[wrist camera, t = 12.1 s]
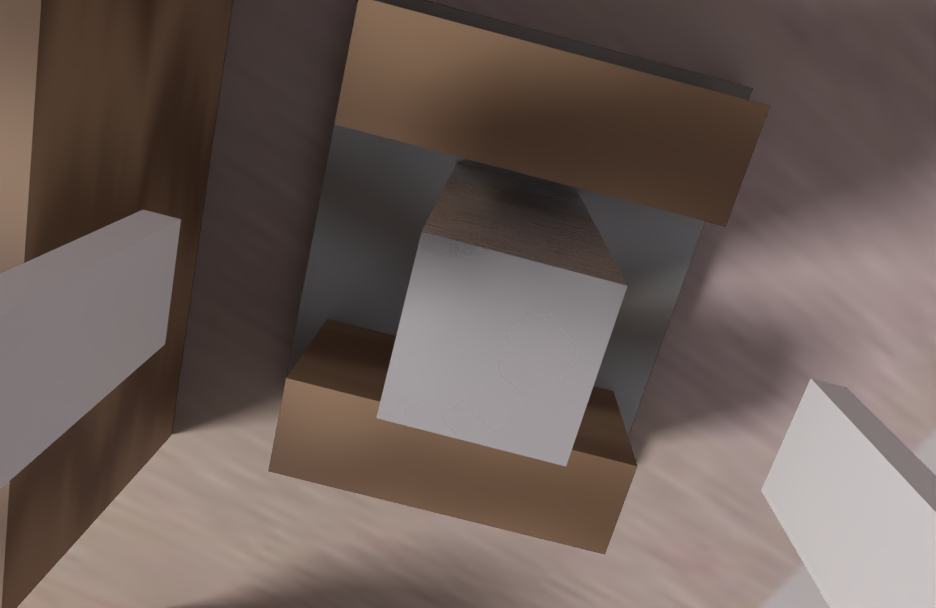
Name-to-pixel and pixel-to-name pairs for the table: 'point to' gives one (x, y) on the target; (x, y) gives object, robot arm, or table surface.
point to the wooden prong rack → (356, 237)
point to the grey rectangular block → (503, 317)
